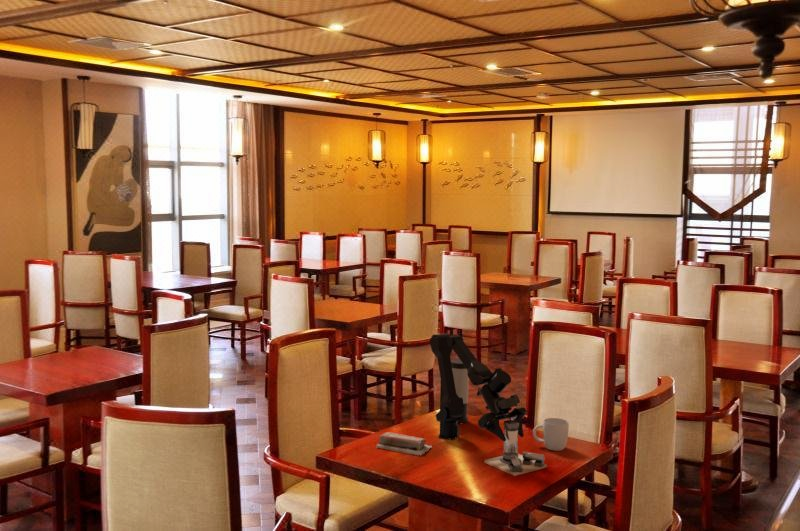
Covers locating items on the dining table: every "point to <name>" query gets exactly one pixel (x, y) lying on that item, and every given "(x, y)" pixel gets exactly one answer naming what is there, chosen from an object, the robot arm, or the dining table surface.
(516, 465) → the shaft
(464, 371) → the light fixture
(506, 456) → the drinking glass
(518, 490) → the dining table surface
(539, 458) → the shaft
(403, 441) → the packaged product
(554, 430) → the mug
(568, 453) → the dining table surface
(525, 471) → the board
